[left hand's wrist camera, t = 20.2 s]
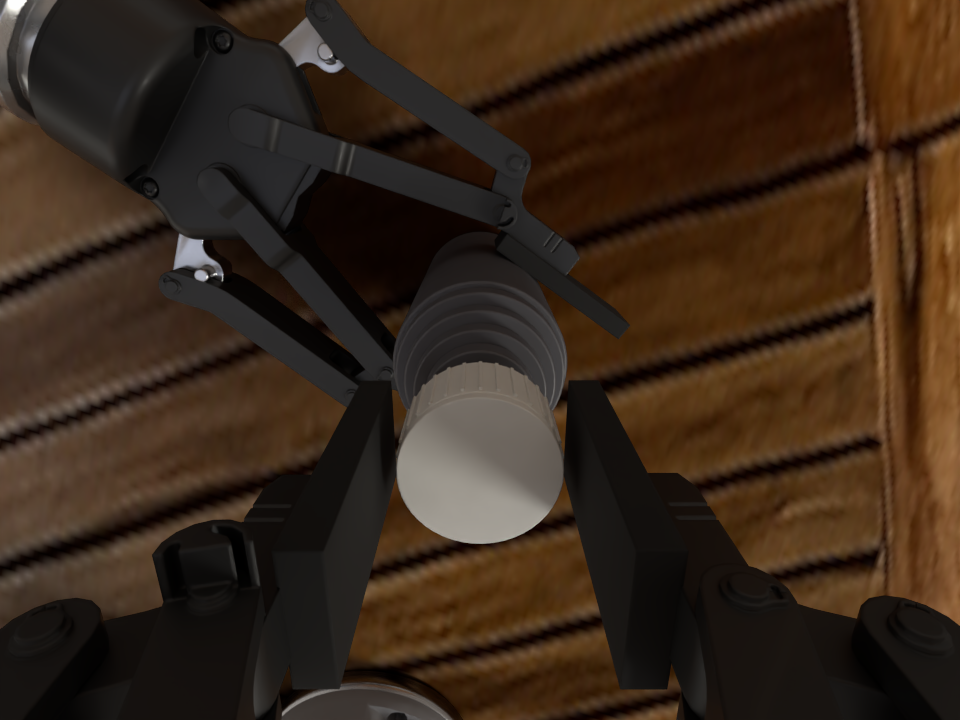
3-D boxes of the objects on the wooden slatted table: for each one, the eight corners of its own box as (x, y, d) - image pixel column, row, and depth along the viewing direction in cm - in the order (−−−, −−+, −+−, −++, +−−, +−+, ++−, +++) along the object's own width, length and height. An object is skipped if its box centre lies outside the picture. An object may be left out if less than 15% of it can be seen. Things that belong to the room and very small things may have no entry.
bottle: (404, 285, 31) (302, 457, 13) (480, 207, 29) (480, 283, 12) (479, 357, 32) (479, 599, 15) (555, 286, 31) (657, 458, 13)
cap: (474, 328, 14) (473, 359, 11) (585, 424, 14) (602, 469, 12) (375, 432, 15) (357, 479, 12) (484, 517, 15) (485, 573, 13)
